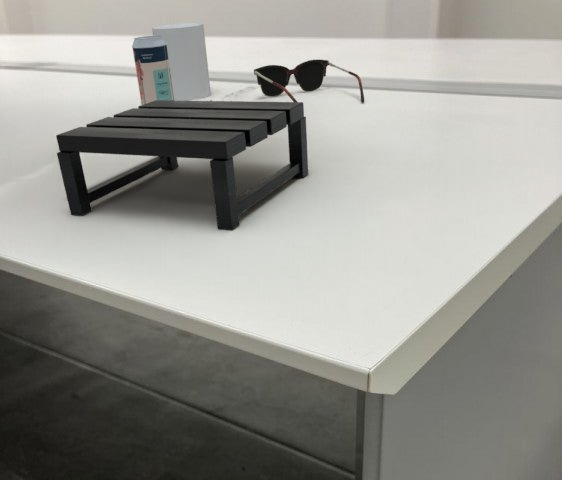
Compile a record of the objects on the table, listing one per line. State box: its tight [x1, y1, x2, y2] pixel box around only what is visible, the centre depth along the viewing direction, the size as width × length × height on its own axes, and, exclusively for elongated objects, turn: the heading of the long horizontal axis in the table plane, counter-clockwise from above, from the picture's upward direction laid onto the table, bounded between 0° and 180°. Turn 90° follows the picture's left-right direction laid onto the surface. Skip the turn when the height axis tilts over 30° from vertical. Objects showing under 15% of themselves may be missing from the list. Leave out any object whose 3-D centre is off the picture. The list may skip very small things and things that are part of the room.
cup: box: [151, 22, 213, 101], centre depth 111 cm, size 8×8×12 cm
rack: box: [55, 100, 309, 231], centre depth 69 cm, size 18×18×8 cm
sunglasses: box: [253, 59, 365, 104], centre depth 110 cm, size 14×16×5 cm
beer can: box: [131, 35, 174, 105], centre depth 97 cm, size 5×5×12 cm
